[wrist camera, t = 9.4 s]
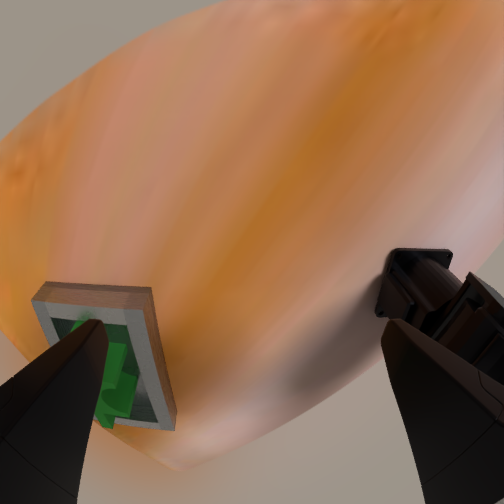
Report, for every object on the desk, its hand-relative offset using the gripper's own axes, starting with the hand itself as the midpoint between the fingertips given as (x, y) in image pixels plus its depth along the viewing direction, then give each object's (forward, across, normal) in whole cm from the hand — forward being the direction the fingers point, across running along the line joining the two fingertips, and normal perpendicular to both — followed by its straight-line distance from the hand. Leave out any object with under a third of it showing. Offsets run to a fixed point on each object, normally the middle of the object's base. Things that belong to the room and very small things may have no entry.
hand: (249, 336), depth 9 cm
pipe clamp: (+11, +11, +15) cm, 22 cm away
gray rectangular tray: (+12, +11, +15) cm, 22 cm away
